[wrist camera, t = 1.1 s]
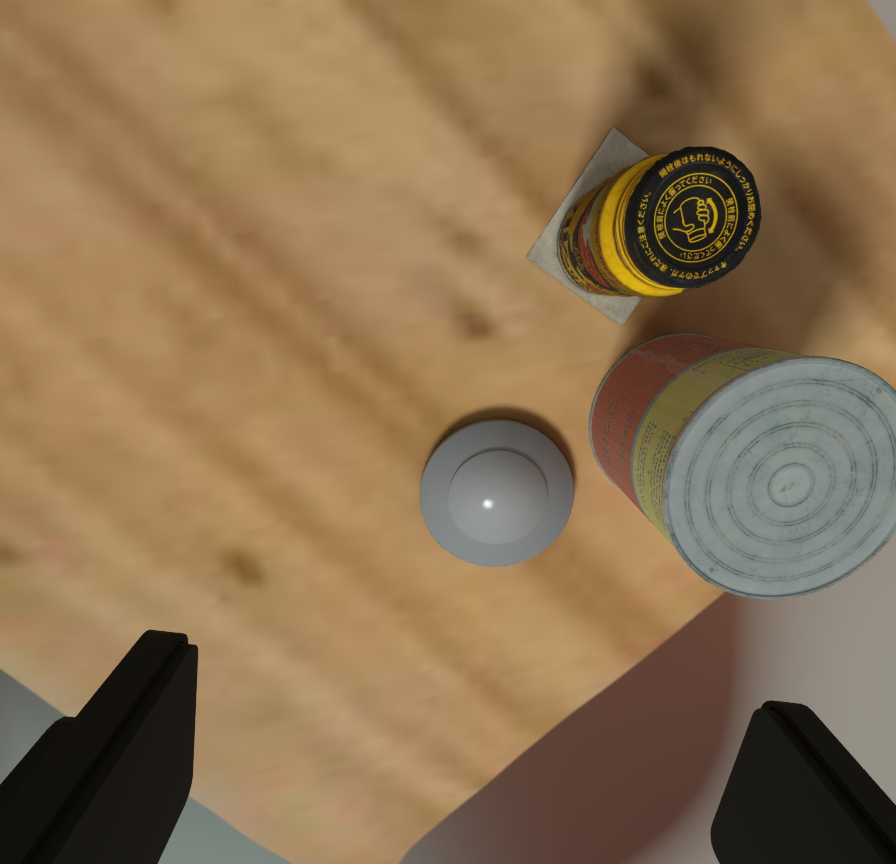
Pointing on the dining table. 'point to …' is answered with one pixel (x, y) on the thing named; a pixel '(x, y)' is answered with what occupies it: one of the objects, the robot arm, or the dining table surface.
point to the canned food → (752, 459)
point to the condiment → (649, 225)
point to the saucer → (496, 492)
